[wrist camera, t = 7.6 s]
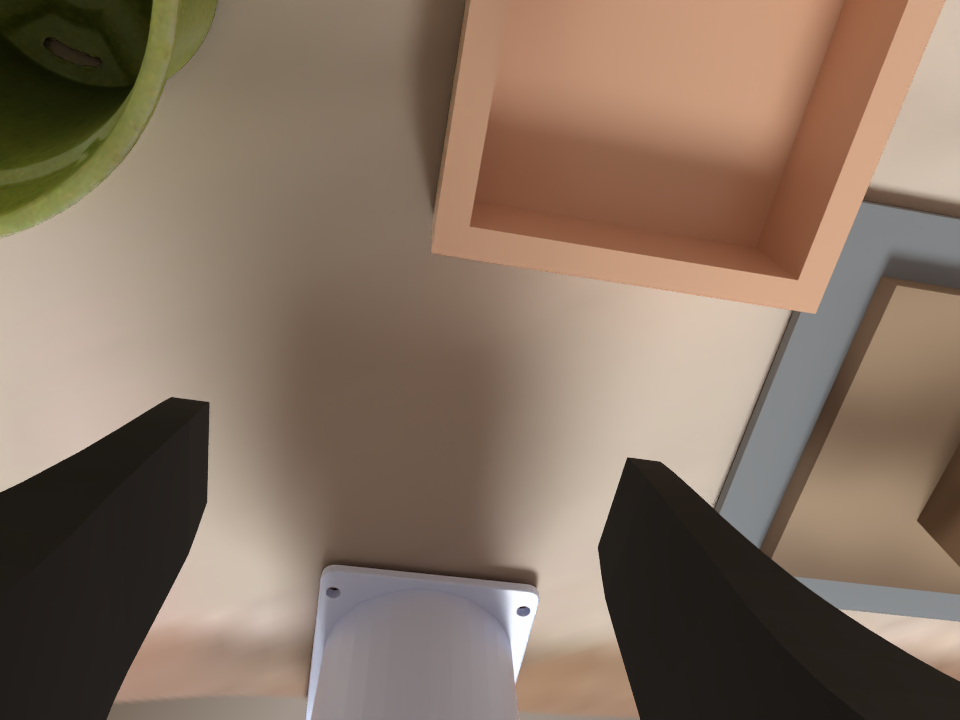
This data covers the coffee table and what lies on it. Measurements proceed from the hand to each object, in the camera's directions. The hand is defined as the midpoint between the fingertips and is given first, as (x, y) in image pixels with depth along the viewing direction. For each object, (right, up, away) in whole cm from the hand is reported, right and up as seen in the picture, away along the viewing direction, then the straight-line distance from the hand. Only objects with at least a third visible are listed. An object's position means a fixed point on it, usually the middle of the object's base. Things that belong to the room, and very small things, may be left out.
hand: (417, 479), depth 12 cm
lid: (+18, -1, +12) cm, 21 cm away
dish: (+6, +10, +6) cm, 13 cm away
